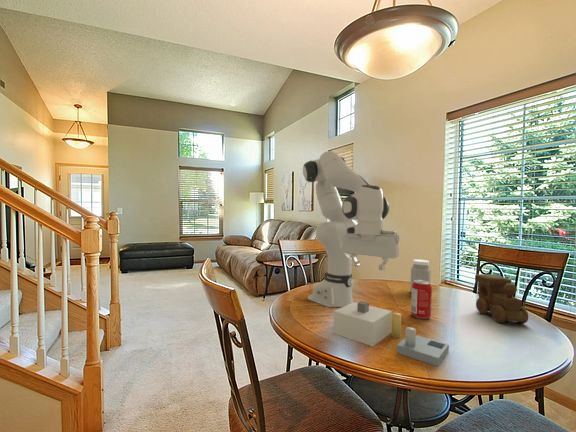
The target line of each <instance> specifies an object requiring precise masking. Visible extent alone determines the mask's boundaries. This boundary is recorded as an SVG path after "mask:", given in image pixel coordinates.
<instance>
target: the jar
mask: <svg viewBox="0 0 576 432" xmlns="http://www.w3.org/2000/svg"><path fill="white" fill-rule="evenodd" d="M431 275H432V274H431V269H430V261H429V260H426V259H420V258H419V259H418V258H417V259H412V266H411V268H410V292H411V293H412V284H413V282H414V280H424V281H428V282H430V283H431Z"/></svg>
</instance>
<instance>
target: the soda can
mask: <svg viewBox="0 0 576 432" xmlns="http://www.w3.org/2000/svg"><path fill="white" fill-rule="evenodd" d="M432 297H433V286H432V284H431V281H430V282H428V281H424V280H414V282H413V284H412V292H411V300H410V314H411V315H412V316H413V317H414V318H417V319H420V320H426V319H427V320H428V319H429V318H431V317H432V304H433V303H432V299H433V298H432Z"/></svg>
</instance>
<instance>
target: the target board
mask: <svg viewBox="0 0 576 432" xmlns="http://www.w3.org/2000/svg"><path fill="white" fill-rule="evenodd" d="M404 337H405V338H403V339H402V340H401V341H399V343H397V344H396V353H397V354H400V355H403V356H405V357H409V358H412V359H415V360H417V361H422V362H424V363H425V364H429V365H432V366H435V367H439V366H440V365H441V363H442V362H443V361H444V359H445V358H446V357H447V356H448V354H449V352H450V350H449V348H450V344H449V343H446V342H441V341H439V340H435V339H432V338H429V337H424V336H421V335H417V329H416V328H415V327H410V326H407V327H405V336H404Z"/></svg>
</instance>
